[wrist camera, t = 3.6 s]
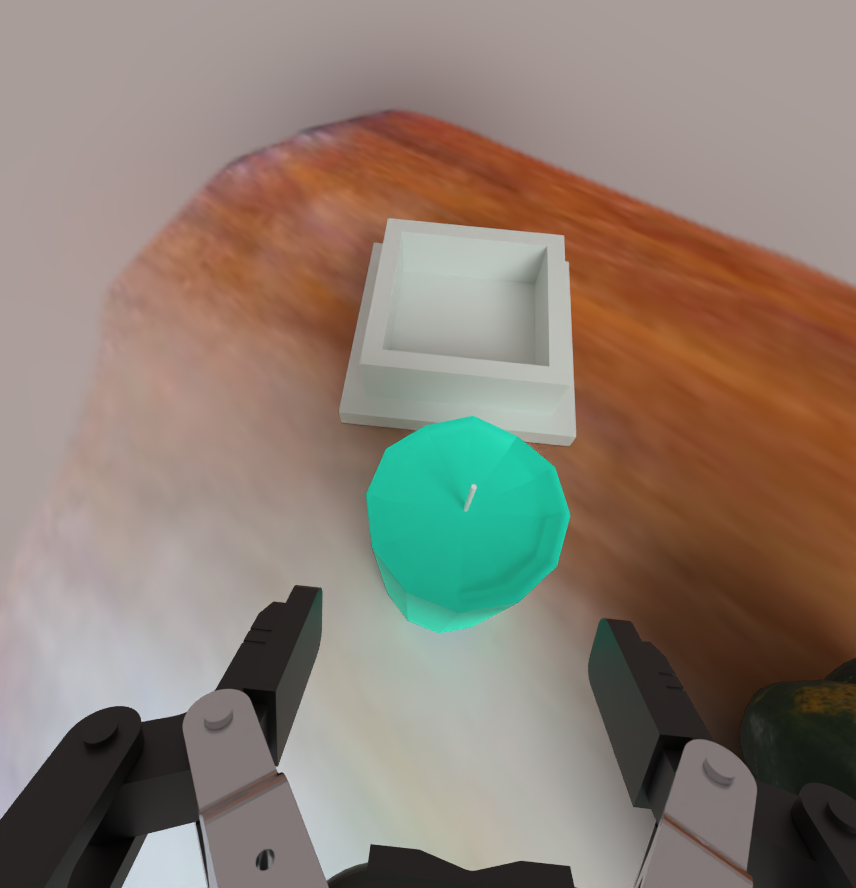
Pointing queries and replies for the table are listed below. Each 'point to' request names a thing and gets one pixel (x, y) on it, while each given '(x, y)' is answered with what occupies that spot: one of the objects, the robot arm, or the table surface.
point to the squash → (804, 733)
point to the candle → (464, 522)
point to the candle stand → (464, 332)
